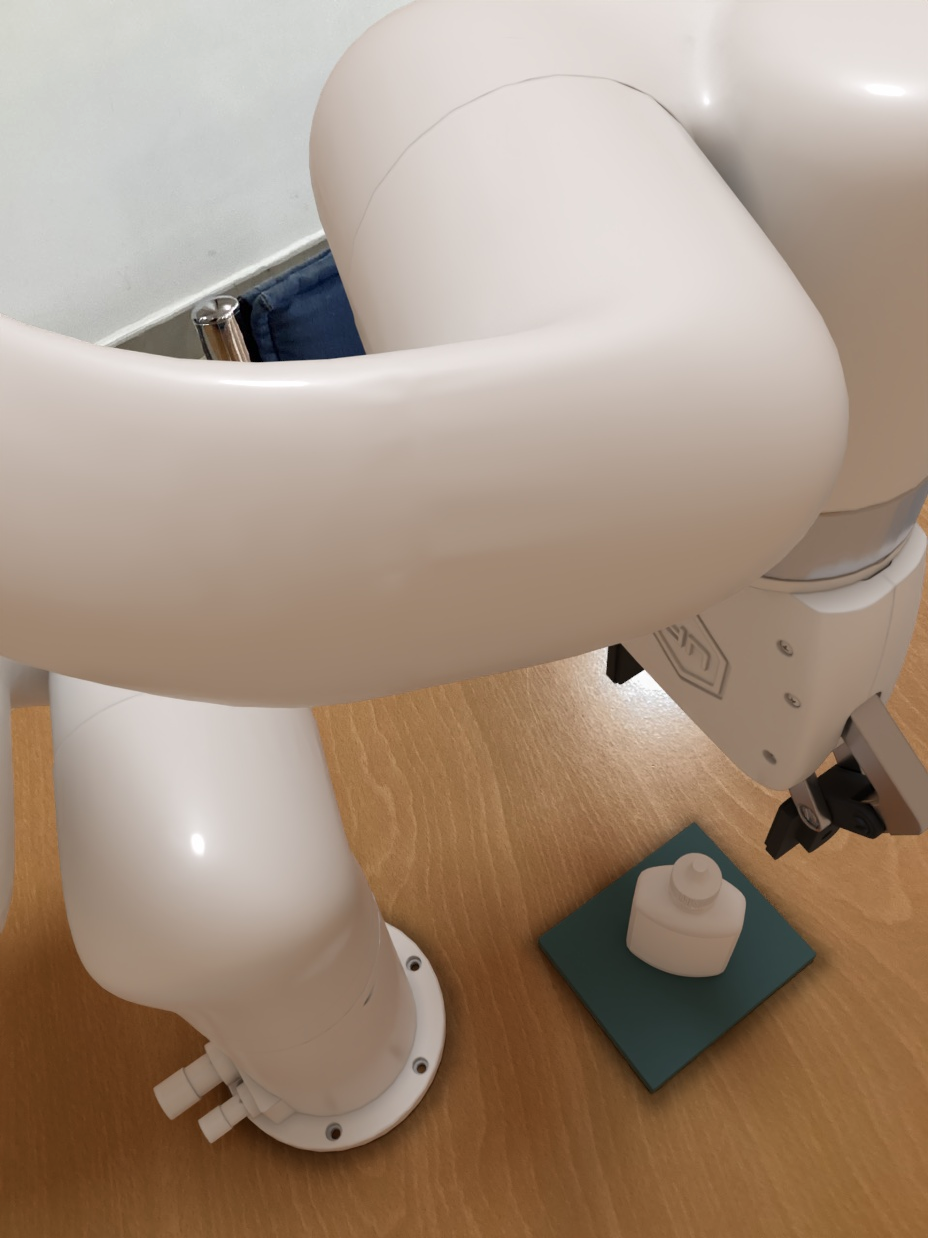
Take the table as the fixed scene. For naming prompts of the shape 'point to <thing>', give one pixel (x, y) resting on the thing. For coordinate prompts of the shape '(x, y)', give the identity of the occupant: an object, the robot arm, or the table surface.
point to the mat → (660, 1001)
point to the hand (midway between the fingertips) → (714, 744)
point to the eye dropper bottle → (685, 917)
